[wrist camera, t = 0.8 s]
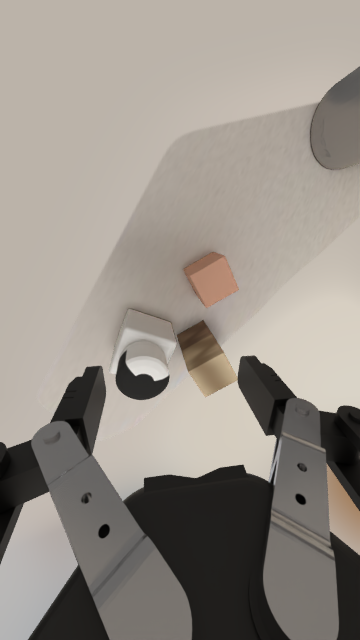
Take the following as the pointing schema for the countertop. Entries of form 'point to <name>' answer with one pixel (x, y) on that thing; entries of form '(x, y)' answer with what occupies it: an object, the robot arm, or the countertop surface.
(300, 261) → the countertop surface
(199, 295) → the clay block
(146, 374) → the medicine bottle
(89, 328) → the countertop surface
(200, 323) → the tower bottom
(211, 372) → the tower top
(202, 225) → the countertop surface
